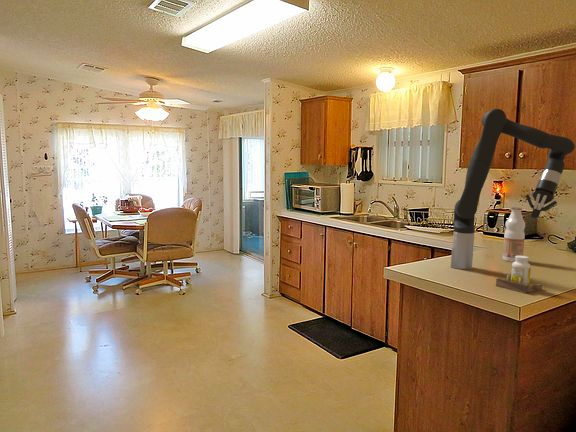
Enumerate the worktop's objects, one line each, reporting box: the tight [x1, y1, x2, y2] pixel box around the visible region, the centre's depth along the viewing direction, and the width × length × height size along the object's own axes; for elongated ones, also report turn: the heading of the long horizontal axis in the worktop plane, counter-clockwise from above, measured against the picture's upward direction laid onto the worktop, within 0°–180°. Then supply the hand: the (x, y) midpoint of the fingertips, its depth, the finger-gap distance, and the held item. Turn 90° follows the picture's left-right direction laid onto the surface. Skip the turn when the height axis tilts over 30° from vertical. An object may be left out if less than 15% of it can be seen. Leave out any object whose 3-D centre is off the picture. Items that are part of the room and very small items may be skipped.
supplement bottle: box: [510, 255, 532, 286], centre depth 168 cm, size 7×7×13 cm
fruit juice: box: [502, 206, 526, 263], centre depth 218 cm, size 9×9×28 cm
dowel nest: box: [495, 274, 543, 294], centre depth 169 cm, size 12×12×5 cm
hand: (534, 218), depth 184 cm, fingers closed
